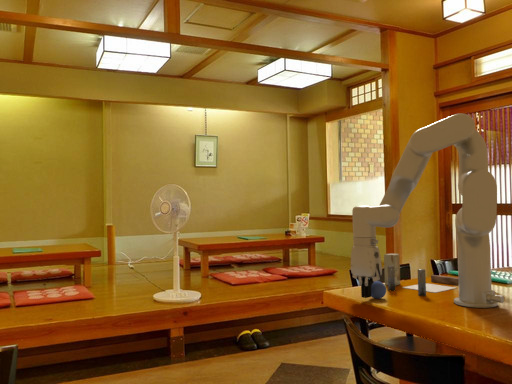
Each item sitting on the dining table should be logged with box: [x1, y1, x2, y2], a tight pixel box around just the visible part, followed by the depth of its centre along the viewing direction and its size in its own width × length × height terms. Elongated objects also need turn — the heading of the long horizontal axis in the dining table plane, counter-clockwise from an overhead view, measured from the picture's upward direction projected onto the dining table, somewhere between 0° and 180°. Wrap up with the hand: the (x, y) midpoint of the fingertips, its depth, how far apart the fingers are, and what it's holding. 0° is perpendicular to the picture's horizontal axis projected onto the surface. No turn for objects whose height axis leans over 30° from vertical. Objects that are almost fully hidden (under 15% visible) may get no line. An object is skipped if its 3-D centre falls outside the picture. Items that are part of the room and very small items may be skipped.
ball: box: [371, 280, 387, 300], centre depth 161 cm, size 6×6×6 cm
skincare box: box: [383, 253, 401, 287], centre depth 188 cm, size 6×4×12 cm
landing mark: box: [402, 283, 457, 294], centre depth 178 cm, size 14×14×1 cm
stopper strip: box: [430, 274, 459, 286], centre depth 187 cm, size 16×2×2 cm, turn 36°
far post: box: [387, 266, 396, 292], centre depth 176 cm, size 3×3×9 cm
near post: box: [417, 268, 427, 297], centre depth 165 cm, size 3×3×9 cm
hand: (366, 297), depth 158 cm, fingers closed
